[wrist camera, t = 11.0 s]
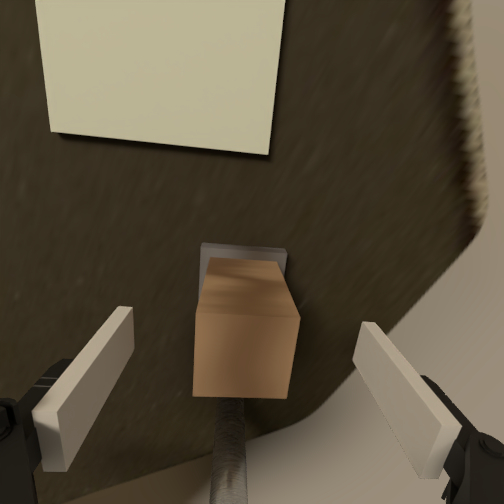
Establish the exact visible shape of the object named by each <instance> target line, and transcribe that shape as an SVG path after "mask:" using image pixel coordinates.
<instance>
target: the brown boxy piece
mask: <svg viewBox="0 0 504 504" xmlns="http://www.w3.org/2000/svg"><path fill="white" fill-rule="evenodd" d="M286 259H287V252H286V250H285V249H280V248H267V247H254V246H240V245H227V244H214V243H202V246H201V256H200V280H199V303H198V307H197V311H196V326H195V352H194V378H193V396H203V397H242V398H280V399H287V393H288V387H289V381H290V376H291V370H292V364H293V358H294V353H295V347H296V341H297V335H298V330H299V324H300V316H299V313H298V311H297V309H296V306H295V304H294V301H293V299H292V297H291V294H290V292H289V289H288V287H287V285H286V282H285V280H284V273H285V266H286Z"/></svg>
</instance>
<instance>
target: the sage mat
mask: <svg viewBox="0 0 504 504" xmlns="http://www.w3.org/2000/svg"><path fill="white" fill-rule="evenodd" d="M35 3H36V11H37V20H38V28H39V36H40V45H41V53H42V61H43V70H44V78H45V87H46V95H47V103H48V112H49V120H50V128H51V131H52V132H59V133H68V134H77V135H87V136H96V137H105V138H114V139H124V140H133V141H142V142H152V143H161V144H170V145H180V146H189V147H198V148H208V149H217V150H226V151H236V152H245V153H254V154H264V155H268V151H269V142H270V133H271V124H272V115H273V106H274V97H275V88H276V79H277V70H278V61H279V52H280V43H281V34H282V25H283V16H284V7H285V0H35Z"/></svg>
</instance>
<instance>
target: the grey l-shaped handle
mask: <svg viewBox="0 0 504 504" xmlns="http://www.w3.org/2000/svg"><path fill="white" fill-rule="evenodd" d="M245 446H246V445H245V419H244V398H242V397H217V407H216V420H215V434H214V447H213V461H212V474H211V488H210V501H209V504H248V498H247V473H246V472H247V471H246V447H245Z"/></svg>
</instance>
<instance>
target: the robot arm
mask: <svg viewBox="0 0 504 504" xmlns="http://www.w3.org/2000/svg"><path fill="white" fill-rule="evenodd" d="M133 351H134V328H133V307H122V306H118V307H117V308H116V310H115V311H114V312H113V313H112V315H111V316H110V317H109V318H108V319H107V321H106V322H105V323H104V324H103V325H102V327H101V328H100V329H99V330H98V331H97V333H96V334H95V335H94V336H93V338H92V339H91V340H90V341H89V342H88V344H87V345H86V346H85V347H84V348H83V350H82V351H81V352H80V353H79V354H78V356H77V357H76V358H75V359H62V360H60V361H59V362H57V363H56V364H54V365H53V366H51V367H50V368H49V369H48V370H47V371H46V372H45V373H44V374H43V376H42V377H41V379H39V380H38V381H37V382H36V383H35V384H34V387H32V388H31V389H30V390H29V391H28V392H27V393H26V394H25V395H24V396H23V397H22V399H21V400H20V401H19V402H18V403H17V402H16V400H14V399H11V398H0V504H38V500H37V493H36V487H35V481H34V476H33V472H34V470H35V469H36V467H37V466H38V464H39V463H40V461H42V466H43V471H47V472H67V470H68V468H69V466H70V464H71V463H72V461H73V459H74V457H75V455H76V453H77V452H78V450H79V448H80V446H81V444H82V443H83V441H84V439H85V437H86V435H87V434H88V432H89V430H90V428H91V426H92V425H93V423H94V421H95V419H96V417H97V416H98V414H99V412H100V410H101V408H102V407H103V405H104V403H105V401H106V399H107V398H108V396H109V394H110V392H111V390H112V388H113V387H114V385H115V383H116V381H117V379H118V378H119V376H120V374H121V372H122V370H123V369H124V367H125V365H126V363H127V361H128V360H129V358H130V356H131V354H132V352H133ZM353 362H354V364H355V366H356V368H357V369H358V371H359V373H360V375H361V376H362V378H363V379H364V382H365V383H366V385H367V387H368V389H369V390H370V392H371V394H372V396H373V397H374V399H375V401H376V403H377V404H378V406H379V408H380V410H381V411H382V413H383V415H384V417H385V418H386V420H387V422H388V424H389V426H390V427H391V429H392V431H393V433H394V434H395V436H396V438H397V440H398V441H399V443H400V445H401V447H402V449H403V450H404V452H405V454H406V455H407V457H408V459H409V461H410V462H411V464H412V466H413V468H414V470H415V471H416V473H417V475H418V476H419V478H420V479H438V478H439V476H440V474H441V471H442V469H443V468H444V469H445V471H446V472H447V474H448V475H449V477H450V480H449V482H448V484H447V486H446V488H445V490H444V492H443V495H442V497H441V498H442V499H443V500H445V498H446V504H504V444H502V443H501V442H500V441H499V440H497V439H495V438H494V437H492V436H490V435H487V434H485V433H482V432H478V430H476V428H475V427H474V426H473V425H472V424H471V422H470V421H469V420H468V419H467V418H466V417H465V416H464V415H463V414H462V412H461V411H460V410H459V409H458V408H457V407H456V406H455V404H454V403H452V401H451V400H450V399H449V398H448V396H447V395H445V393H444V392H443V391H442V390H441V389H440V387H439V386H438V385H437V384H436V383H434V382H433V381H432V380H430V379H429V378H428V377H426V376H423V375H419V374H418V373H417V372H416V371H415V370H414V368H413V367H412V366H411V365H410V364H409V363H408V361H407V360H406V359H405V358H404V357H403V355H402V354H401V353H400V352H399V351H398V349H397V348H396V347H395V346H394V345H393V343H392V342H391V341H390V340H389V339H388V337H387V336H386V335H385V334H384V333H383V331H382V330H381V329H380V328H379V327H378V325H377V324H376V323H375V322H362V325H361V329H360V333H359V337H358V341H357V344H356V348H355V352H354V356H353ZM446 496H447V497H446Z"/></svg>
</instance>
